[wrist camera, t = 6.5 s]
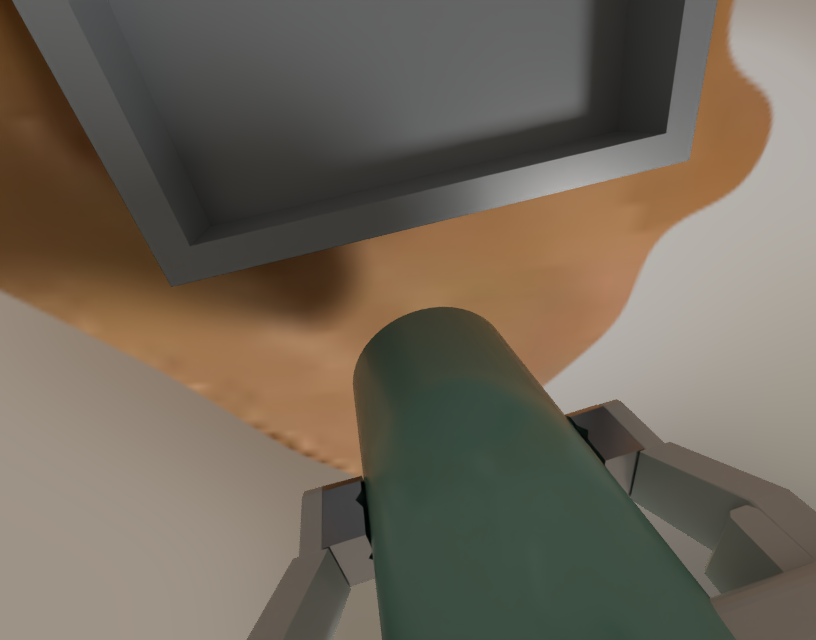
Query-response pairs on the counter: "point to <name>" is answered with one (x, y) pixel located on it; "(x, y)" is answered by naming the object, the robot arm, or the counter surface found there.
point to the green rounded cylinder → (501, 503)
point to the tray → (363, 110)
